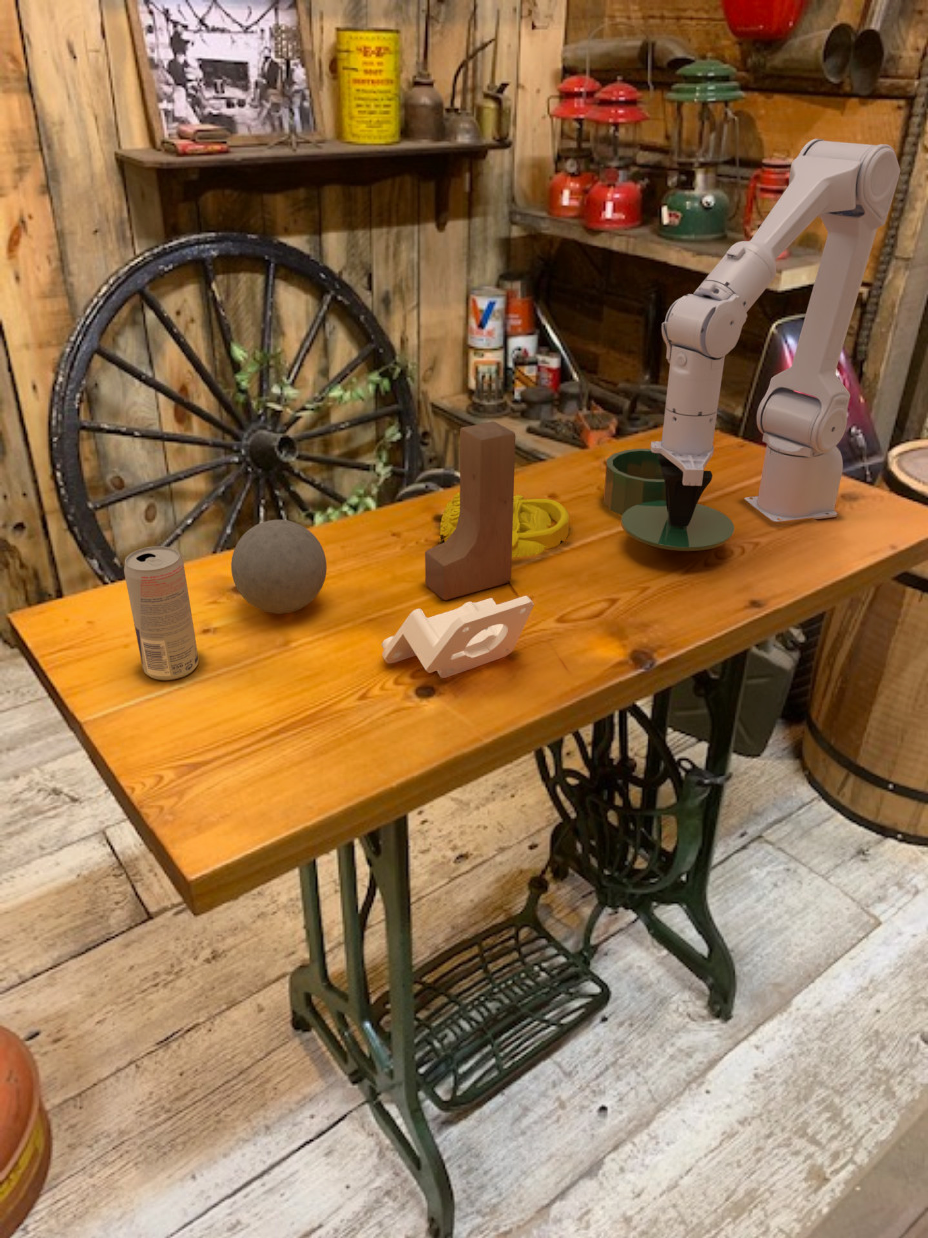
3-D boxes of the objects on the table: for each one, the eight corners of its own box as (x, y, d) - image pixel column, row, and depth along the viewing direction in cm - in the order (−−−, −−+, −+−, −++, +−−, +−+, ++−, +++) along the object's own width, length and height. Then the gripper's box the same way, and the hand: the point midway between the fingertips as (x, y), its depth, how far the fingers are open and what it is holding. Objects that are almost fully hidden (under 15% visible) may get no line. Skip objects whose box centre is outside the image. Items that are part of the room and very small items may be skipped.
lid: (700, 503, 125) (705, 469, 122) (754, 548, 114) (760, 512, 111) (603, 514, 122) (606, 480, 119) (648, 561, 111) (652, 525, 108)
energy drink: (177, 646, 100) (159, 540, 94) (210, 664, 97) (194, 556, 91) (132, 668, 97) (110, 559, 91) (165, 688, 94) (145, 577, 88)
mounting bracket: (404, 702, 95) (427, 635, 87) (375, 653, 98) (394, 584, 90) (506, 666, 101) (536, 600, 93) (475, 620, 104) (501, 552, 96)
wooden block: (443, 602, 109) (442, 447, 99) (424, 585, 112) (421, 433, 103) (512, 583, 112) (517, 432, 103) (491, 567, 116) (494, 419, 107)
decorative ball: (309, 636, 102) (302, 549, 97) (221, 624, 104) (209, 539, 99) (342, 591, 111) (336, 509, 106) (259, 581, 113) (250, 500, 108)
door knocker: (591, 539, 123) (593, 508, 121) (491, 574, 114) (492, 541, 112) (506, 496, 134) (507, 467, 132) (409, 526, 126) (409, 495, 123)
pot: (667, 485, 138) (672, 445, 135) (707, 518, 128) (713, 476, 125) (590, 493, 135) (593, 452, 132) (624, 528, 125) (628, 485, 122)
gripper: (649, 387, 116) (639, 493, 123) (661, 428, 104) (648, 544, 111) (710, 388, 116) (696, 495, 123) (729, 430, 103) (712, 547, 110)
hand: (677, 519), depth 117 cm, fingers closed on lid, 2 cm apart
